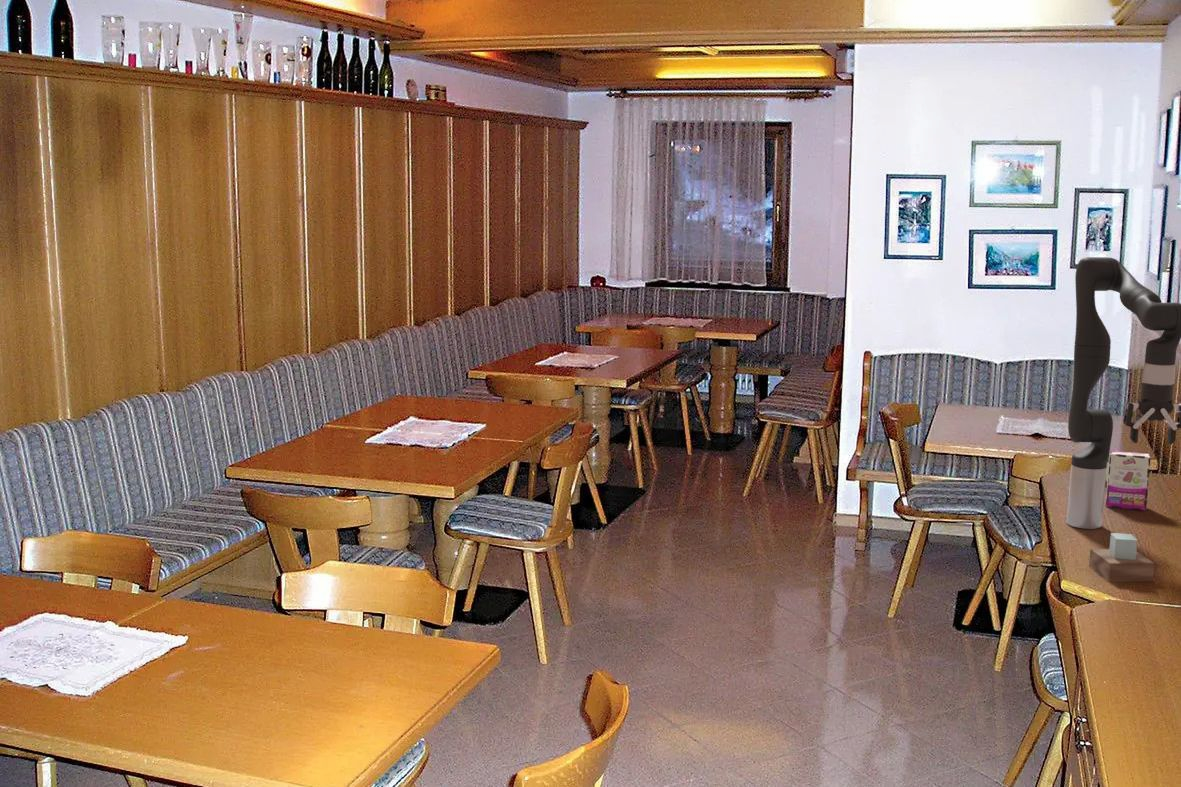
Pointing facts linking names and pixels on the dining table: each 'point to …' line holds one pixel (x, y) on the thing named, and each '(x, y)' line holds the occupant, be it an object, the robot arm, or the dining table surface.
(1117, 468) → the candy bar box
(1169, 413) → the robot arm
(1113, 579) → the walnut block
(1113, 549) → the teal cube
